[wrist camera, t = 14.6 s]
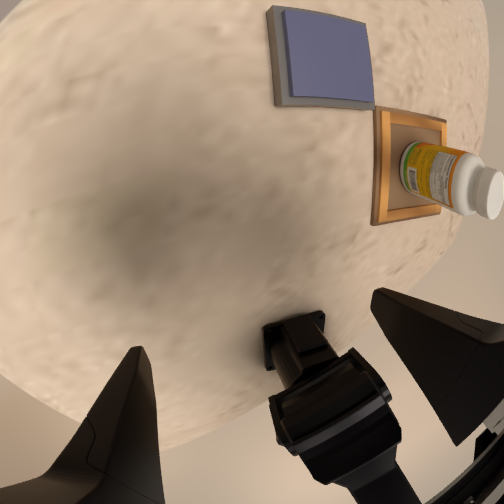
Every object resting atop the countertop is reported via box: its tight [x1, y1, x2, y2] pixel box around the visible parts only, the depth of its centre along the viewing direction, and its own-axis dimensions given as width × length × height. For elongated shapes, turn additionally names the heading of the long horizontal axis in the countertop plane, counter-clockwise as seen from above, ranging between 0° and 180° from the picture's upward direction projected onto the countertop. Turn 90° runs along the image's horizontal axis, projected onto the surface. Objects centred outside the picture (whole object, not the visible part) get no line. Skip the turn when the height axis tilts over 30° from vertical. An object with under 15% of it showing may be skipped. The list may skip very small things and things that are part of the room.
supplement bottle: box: [400, 142, 504, 220], centre depth 18 cm, size 5×5×10 cm
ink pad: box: [266, 5, 375, 110], centre depth 15 cm, size 8×8×2 cm
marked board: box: [371, 106, 447, 226], centre depth 22 cm, size 11×11×1 cm
